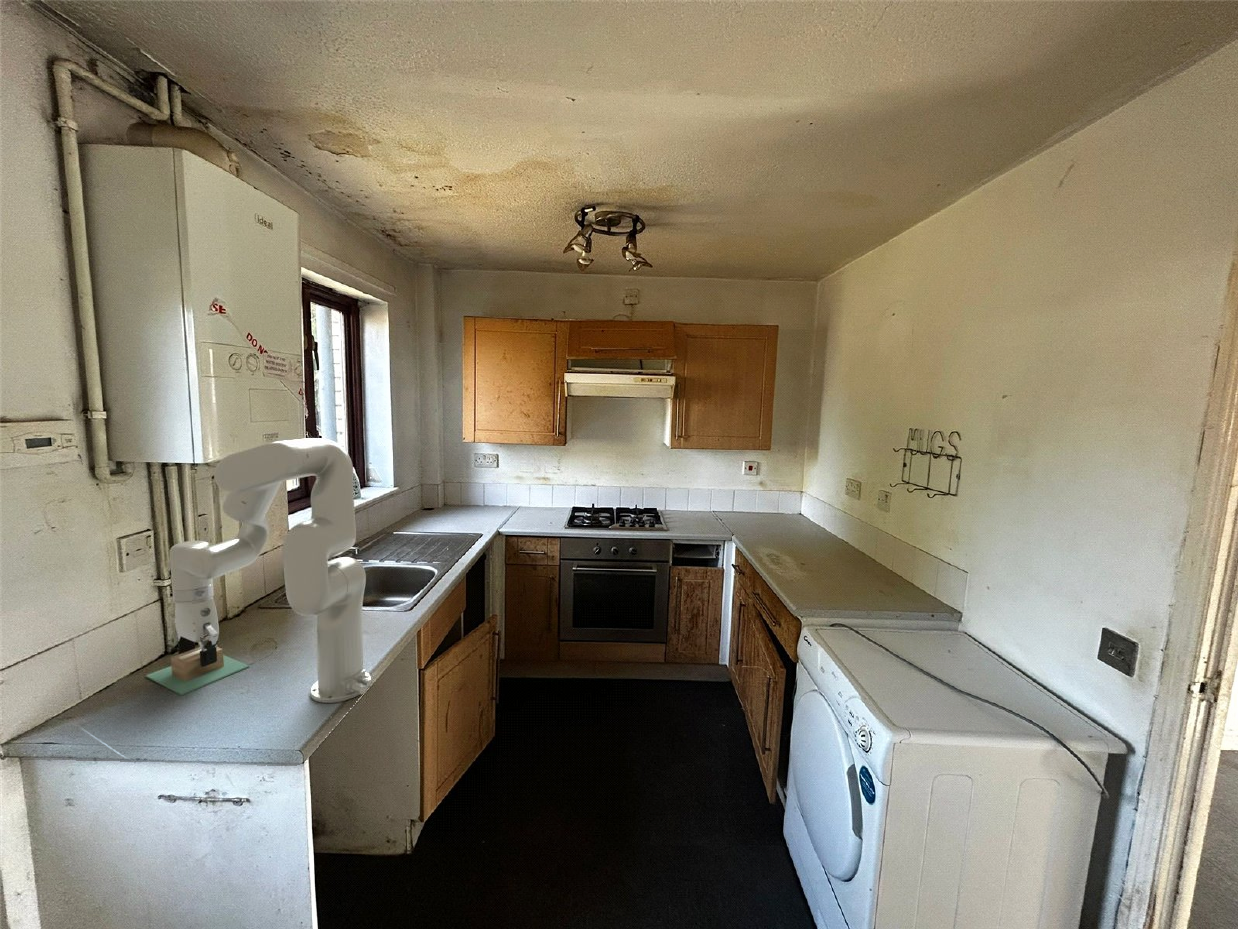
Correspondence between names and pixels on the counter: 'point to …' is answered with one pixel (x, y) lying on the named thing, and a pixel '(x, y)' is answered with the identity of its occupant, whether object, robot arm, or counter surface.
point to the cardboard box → (193, 664)
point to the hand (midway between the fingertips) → (197, 659)
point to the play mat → (185, 687)
